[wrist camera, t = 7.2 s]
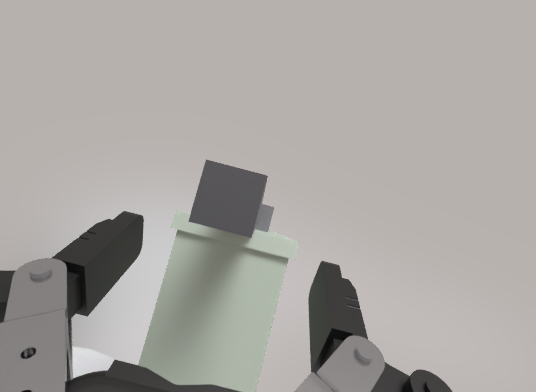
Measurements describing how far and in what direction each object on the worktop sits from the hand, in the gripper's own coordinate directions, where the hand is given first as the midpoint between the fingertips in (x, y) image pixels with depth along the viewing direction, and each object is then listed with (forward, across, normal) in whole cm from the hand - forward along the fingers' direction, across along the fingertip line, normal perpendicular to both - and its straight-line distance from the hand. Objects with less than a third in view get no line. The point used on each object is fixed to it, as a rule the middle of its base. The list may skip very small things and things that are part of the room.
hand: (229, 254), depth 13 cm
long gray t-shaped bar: (+12, -1, -6) cm, 13 cm away
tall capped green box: (+3, -1, -38) cm, 38 cm away
